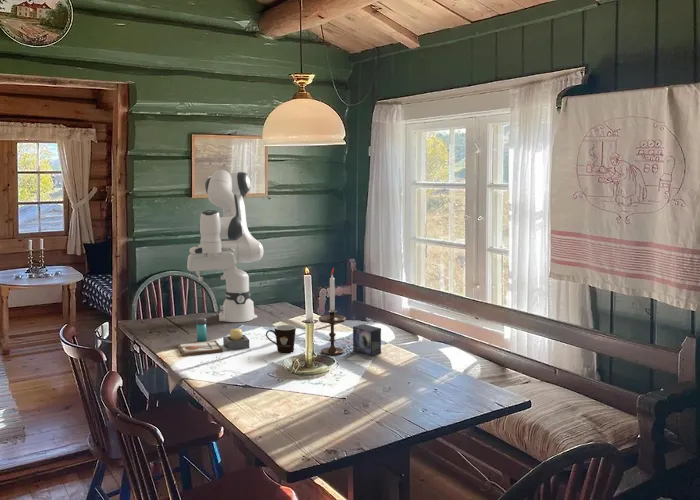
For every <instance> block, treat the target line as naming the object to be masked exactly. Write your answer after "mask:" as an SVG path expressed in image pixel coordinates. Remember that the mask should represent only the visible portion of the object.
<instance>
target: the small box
mask: <svg viewBox="0 0 700 500" xmlns="http://www.w3.org/2000/svg"><path fill="white" fill-rule="evenodd" d="M352 351H353V352H356V353H359V354H363V355H366V356H368V357H372V356H376V355H380V354H382V328H380V327H377V326H374V325H373V326H372V325H368V324H366V323H362V324H357V325H354V326H352Z"/></svg>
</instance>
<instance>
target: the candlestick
mask: <svg viewBox="0 0 700 500" xmlns="http://www.w3.org/2000/svg"><path fill="white" fill-rule="evenodd" d="M334 271H335V268H334V267H333V268H332V270H331V272H330V275H331V277H330V278H329V310H327V313H329V314H324V315H321V316H318V321H319V322H320V323H324V324H329V325H330V333H329V334H328V336H329V337H330V339H329V340H328V341H329V342H330V346H329V347H325V348H322V349H321V354H322V355H324V354H325V355H324V356H329V355H331V356H334V357H335V356H339V355H343V354H344V352H345V350H344V349H343V348H340V347H336V346H335V342H336V339H335V337H336V336H337V333H335V325H336V324H341V323H344V322H346V320H347V319H346V316H345V315H340V314H335V313H338V310H335V309H336V308H335V304H336V303H335V300H336V299H335V277H334Z"/></svg>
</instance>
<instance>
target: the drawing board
mask: <svg viewBox="0 0 700 500" xmlns="http://www.w3.org/2000/svg"><path fill="white" fill-rule="evenodd" d="M176 347H177V349H178V350H179V353H180V354H181V356H182V357H189V356H190V357H191V356H199V355H208V354H218V353H224V349H223V348H222V346H221V345H220V344H219V342H217V340H215V339H214V340H207V341H204V342H197V341H195V342H186V343H177V345H176Z"/></svg>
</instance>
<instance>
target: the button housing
mask: <svg viewBox="0 0 700 500" xmlns="http://www.w3.org/2000/svg"><path fill="white" fill-rule="evenodd" d="M222 340H223V341H222V342H223V346H224V347H225V349H226V350H227V351H233V350H243V349H250V339H249V337H248V336H246V335H245V334H242V340H232V341H231V340H230V335H227V336H223V337H222Z"/></svg>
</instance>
